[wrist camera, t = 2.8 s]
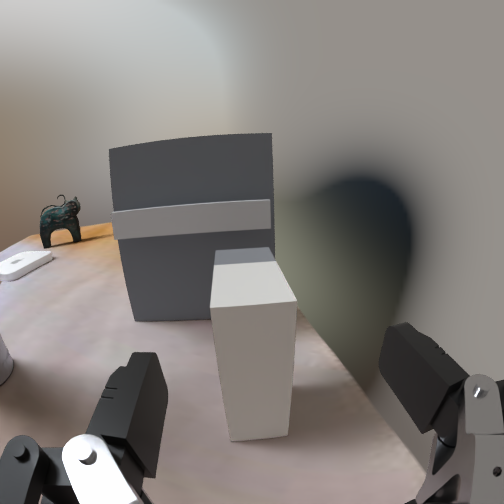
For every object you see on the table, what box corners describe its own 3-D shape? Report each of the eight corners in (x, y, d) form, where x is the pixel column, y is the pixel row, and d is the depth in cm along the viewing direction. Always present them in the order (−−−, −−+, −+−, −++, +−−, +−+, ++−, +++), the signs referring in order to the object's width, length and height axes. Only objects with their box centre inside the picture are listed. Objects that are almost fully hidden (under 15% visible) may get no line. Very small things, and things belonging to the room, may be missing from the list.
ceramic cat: (85, 238, 98) (79, 190, 92) (83, 241, 92) (76, 191, 86) (45, 246, 89) (37, 199, 83) (41, 250, 84) (33, 201, 78)
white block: (230, 441, 19) (209, 307, 15) (227, 365, 30) (215, 250, 26) (287, 435, 20) (297, 300, 15) (269, 361, 30) (268, 247, 26)
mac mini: (-16, 279, 55) (-18, 271, 54) (23, 258, 76) (22, 251, 75) (12, 283, 53) (9, 274, 52) (56, 258, 74) (54, 250, 73)
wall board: (129, 332, 36) (98, 148, 28) (142, 306, 44) (121, 150, 36) (279, 325, 38) (276, 129, 30) (270, 299, 46) (266, 137, 38)
